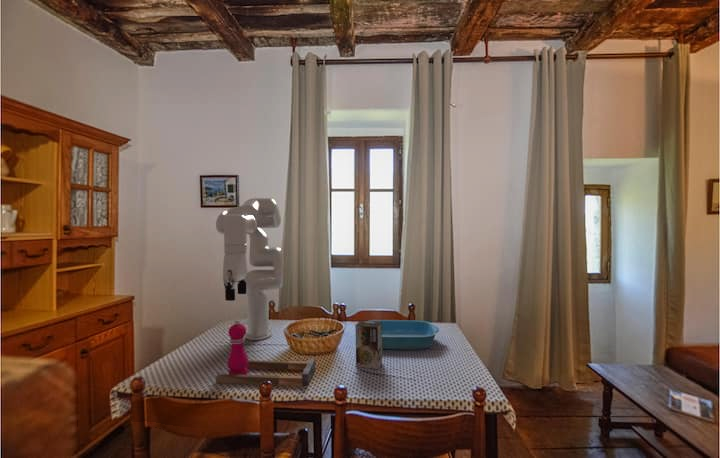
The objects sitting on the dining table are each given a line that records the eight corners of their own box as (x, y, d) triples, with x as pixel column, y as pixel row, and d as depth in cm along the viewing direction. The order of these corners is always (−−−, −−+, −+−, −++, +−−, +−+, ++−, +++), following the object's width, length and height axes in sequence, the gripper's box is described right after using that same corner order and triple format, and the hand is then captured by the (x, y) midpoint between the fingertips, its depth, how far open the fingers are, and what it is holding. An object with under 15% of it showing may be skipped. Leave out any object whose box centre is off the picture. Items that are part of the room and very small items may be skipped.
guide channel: (232, 366, 129) (232, 355, 129) (315, 368, 127) (315, 357, 127) (216, 383, 116) (215, 371, 116) (308, 385, 114) (307, 374, 114)
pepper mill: (241, 380, 118) (240, 323, 117) (223, 378, 119) (222, 322, 118) (252, 371, 125) (251, 317, 124) (234, 369, 126) (233, 316, 126)
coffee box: (382, 362, 132) (382, 321, 131) (378, 369, 126) (378, 327, 125) (360, 359, 135) (360, 319, 134) (355, 366, 128) (355, 324, 128)
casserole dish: (355, 351, 143) (355, 334, 143) (358, 333, 166) (358, 318, 165) (443, 353, 141) (443, 336, 141) (434, 334, 163) (434, 319, 163)
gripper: (235, 247, 129) (236, 291, 130) (213, 251, 112) (214, 303, 113) (255, 247, 129) (255, 291, 129) (235, 252, 111) (236, 303, 112)
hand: (236, 297), depth 121 cm, fingers open, 9 cm apart
